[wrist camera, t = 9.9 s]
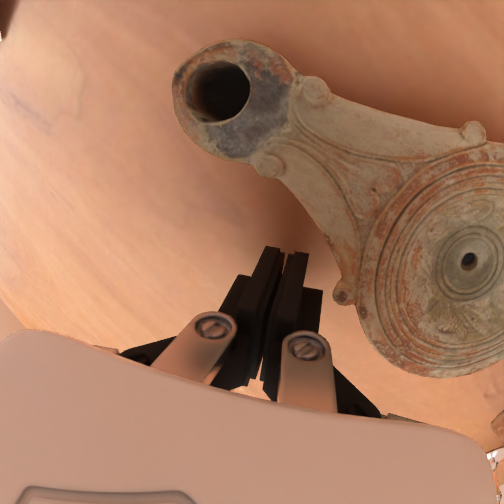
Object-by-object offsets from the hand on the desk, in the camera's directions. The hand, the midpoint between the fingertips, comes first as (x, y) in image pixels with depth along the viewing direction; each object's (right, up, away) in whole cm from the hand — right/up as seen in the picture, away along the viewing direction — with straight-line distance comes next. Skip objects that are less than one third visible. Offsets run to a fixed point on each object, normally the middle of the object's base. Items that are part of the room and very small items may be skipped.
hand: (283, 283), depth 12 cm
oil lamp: (+6, +2, -1) cm, 7 cm away
